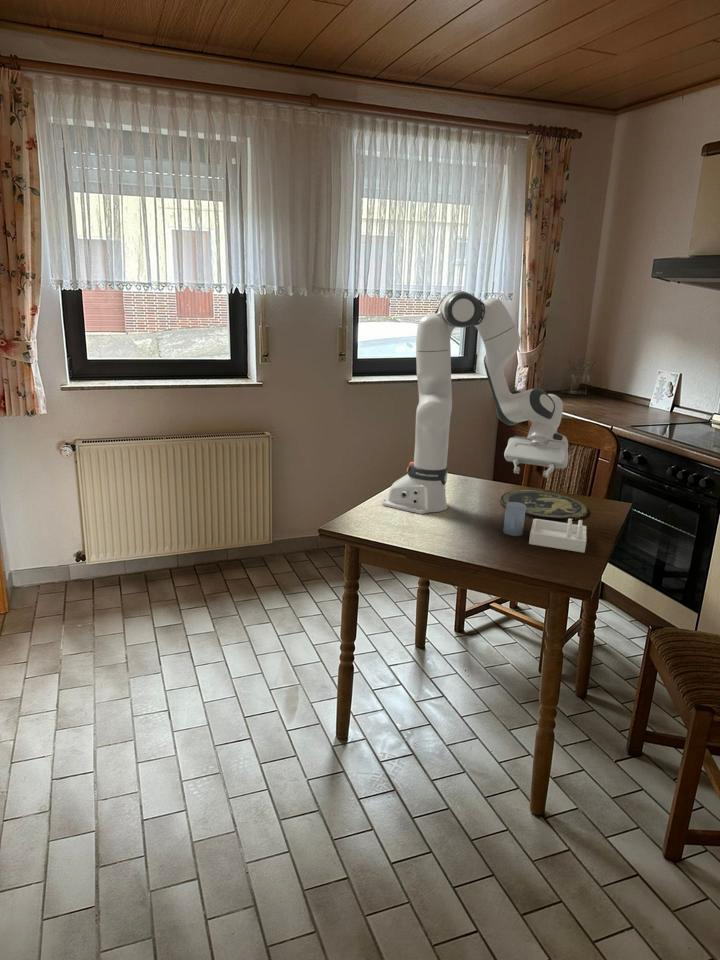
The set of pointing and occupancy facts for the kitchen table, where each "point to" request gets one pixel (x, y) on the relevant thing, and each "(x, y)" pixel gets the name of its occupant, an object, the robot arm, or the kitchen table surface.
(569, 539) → the white pegged tray
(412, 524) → the kitchen table surface
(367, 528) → the kitchen table surface
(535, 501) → the decorative plate
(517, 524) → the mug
